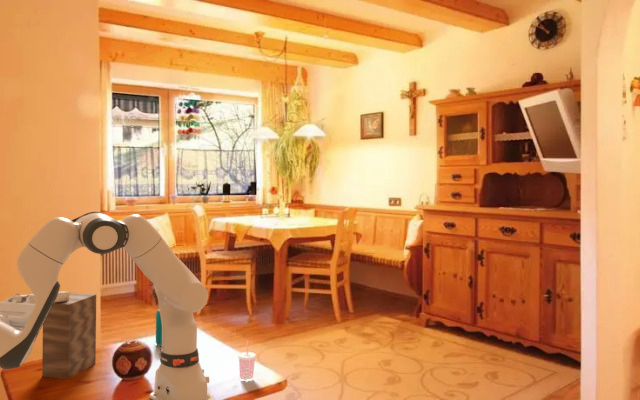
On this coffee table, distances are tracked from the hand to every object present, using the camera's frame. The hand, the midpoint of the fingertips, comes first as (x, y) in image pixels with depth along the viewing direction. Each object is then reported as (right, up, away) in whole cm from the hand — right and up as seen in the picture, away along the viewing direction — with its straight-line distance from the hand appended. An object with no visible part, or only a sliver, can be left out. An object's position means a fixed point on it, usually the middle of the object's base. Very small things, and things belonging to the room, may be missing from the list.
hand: (24, 295), depth 167 cm
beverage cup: (+67, -33, +20) cm, 78 cm away
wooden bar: (+1, -4, +8) cm, 9 cm away
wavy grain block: (+3, -31, +24) cm, 39 cm away
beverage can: (+27, -31, +55) cm, 69 cm away
